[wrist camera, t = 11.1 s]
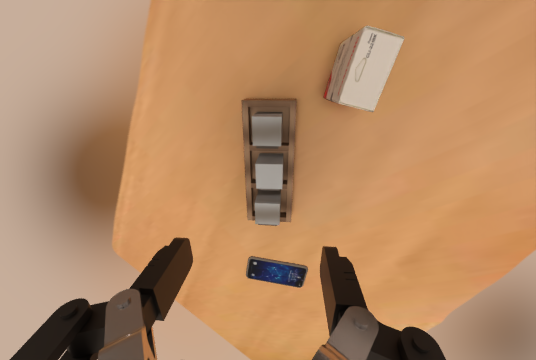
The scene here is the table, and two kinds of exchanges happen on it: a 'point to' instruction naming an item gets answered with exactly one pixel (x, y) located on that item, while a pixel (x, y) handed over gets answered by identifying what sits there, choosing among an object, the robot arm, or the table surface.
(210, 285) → the table surface
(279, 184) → the grey cube
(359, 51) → the ink box
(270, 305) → the table surface
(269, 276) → the smartphone
